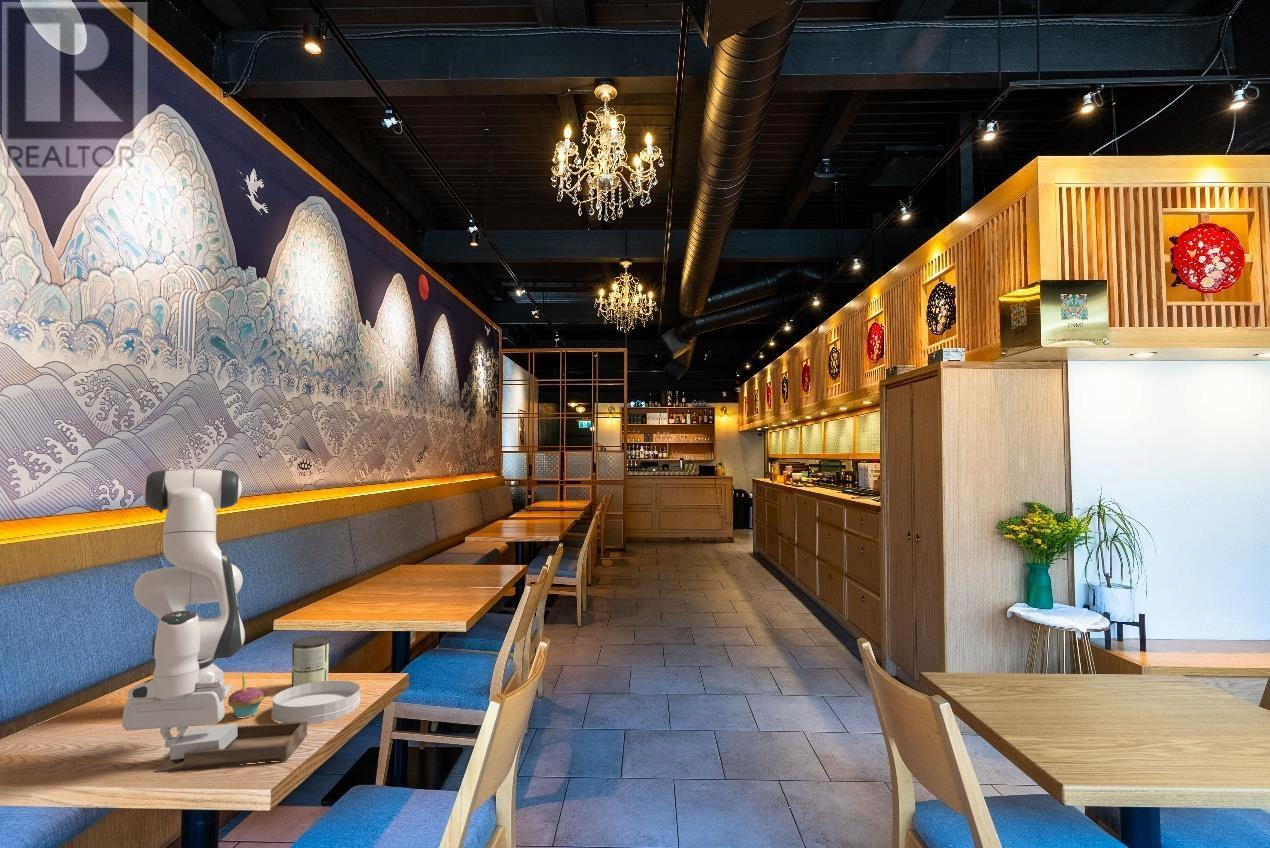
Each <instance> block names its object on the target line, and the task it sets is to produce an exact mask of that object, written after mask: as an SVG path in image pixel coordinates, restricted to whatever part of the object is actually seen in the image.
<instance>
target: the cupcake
mask: <svg viewBox="0 0 1270 848" xmlns="http://www.w3.org/2000/svg"><path fill="white" fill-rule="evenodd" d="M241 679H242V681H241V682H242V688H240V689H238V690H235V691H234V692H233V693H231V694H229V696H228V701H227V705H228V706H229V707H231V709H232V711H233V713H234V717H235V718H236V717H246V716H250V715H253V714H255V713H256V714H257V711H258V708H259V706H260V704H261V702H262V701H264V699H265V694H264V692H263V690H261V689H259V688H257V687H247V686H246V675H245V673H244V672H243V671H242V677H241ZM256 714H255V715H256Z"/></svg>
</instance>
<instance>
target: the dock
mask: <svg viewBox="0 0 1270 848" xmlns="http://www.w3.org/2000/svg"><path fill="white" fill-rule="evenodd" d="M237 733H238V736H237V738H236V740H235V741H234V742H233V743H232V744H231V745H230V746H229V747H228V748H227V749H217V750H203V751H190V752H186V753H184V758H183V759H182V760H181V761H179V762H178V763H174V762H172V760H170V758H169V759H168V760H167V761H165V762H164V763H163V764H162V765H160V766H159V767H158V768H157V769H156V770H155V771H153V773H164V772H165V773H166V772H174V771H177V770H182V769H183V771H188V770H190V771H191V770H199V769H200V770H201V769H211V768H224V767H223V766H228V767H231V766H230V765H240V764H247V763H258V762H271V761H286V760H287V759H288V758H291V756H292V755H293V754H294V753H295V752H296V750H297V749H298V748H299V746H300V745H301V743H303V742H304V740H305V739H306V738H307V737H308V725H307V721H306V722H292V723H267V724H251V725H239V726H238V725H237ZM305 737H306V738H305ZM288 760H289V759H288ZM288 760H287V761H288ZM287 761H286V762H287ZM240 766H241V765H240Z"/></svg>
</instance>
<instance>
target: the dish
mask: <svg viewBox="0 0 1270 848" xmlns="http://www.w3.org/2000/svg"><path fill="white" fill-rule="evenodd" d="M360 689H361V688H360V685H359V684H357V683H356V682H353V681H349V680H328V681H320V682H313V683H307V684H302V685H298V686H295V687H292V686H291V687H288V688H286V689H284V690H282V691H279V692H278V693H276V694H275V695H274V696H273V697H272V707H271V719H272V718H273V719H274V720H276V721H279V722H282V723H292V722H306V721H307V724H310V723H318V724H320V723H319V722H324V723H326V722H325V721H328V722H331V721H330V720H332V721H336V720H338V719H337V718H339V717H342V716H344V715H346V714H348V713H350V712H352V711H354V710H355V709H356V708H357V707H358V706H359V704H360V705H361V694H360V692H361V691H360ZM359 707H360V706H359ZM354 712H355V711H354ZM342 718H343V717H342ZM335 719H336V720H335ZM339 719H340V718H339Z"/></svg>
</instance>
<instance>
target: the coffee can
mask: <svg viewBox="0 0 1270 848" xmlns="http://www.w3.org/2000/svg"><path fill="white" fill-rule="evenodd" d="M291 645H292V654H291V655H292V658H291V659H292V662H291V664H292V665H291V687H295V686H298V685H302V684H307V683H313V682H320V681H329V657H330V656H329V654H330V650H329V649H330V637H328V636H323V635H321V636H320V635H319V636H317V635H316V636H314V635H313V636H307V637H301V638H297V639H295V640H293V641H292V644H291Z"/></svg>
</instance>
